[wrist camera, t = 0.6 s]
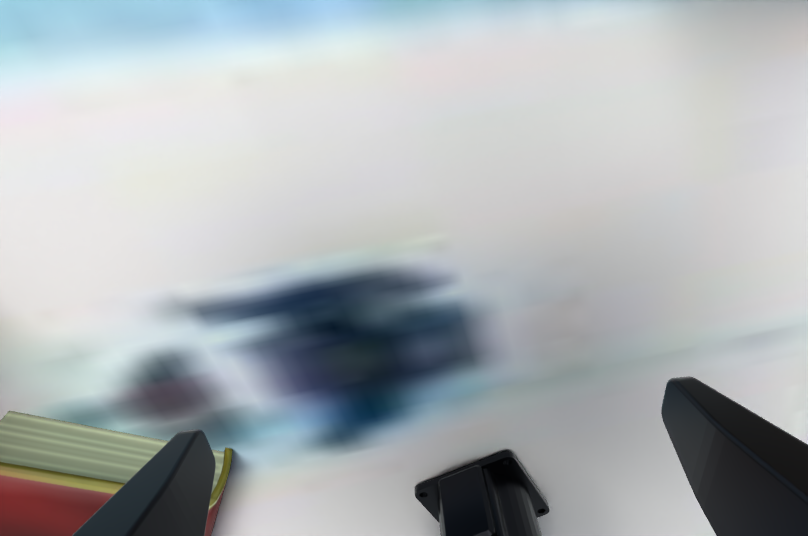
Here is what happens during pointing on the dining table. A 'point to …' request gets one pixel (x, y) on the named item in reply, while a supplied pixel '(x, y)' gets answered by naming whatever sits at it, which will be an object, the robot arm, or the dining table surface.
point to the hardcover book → (72, 473)
